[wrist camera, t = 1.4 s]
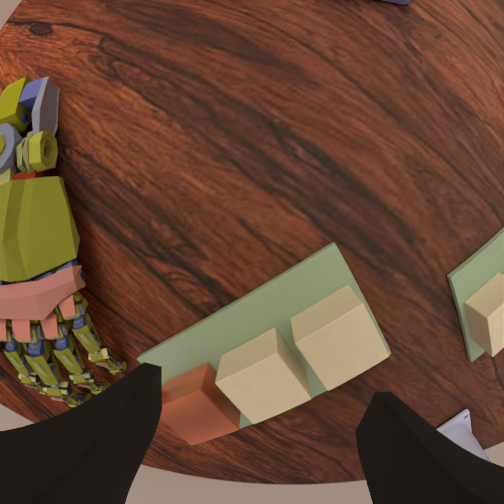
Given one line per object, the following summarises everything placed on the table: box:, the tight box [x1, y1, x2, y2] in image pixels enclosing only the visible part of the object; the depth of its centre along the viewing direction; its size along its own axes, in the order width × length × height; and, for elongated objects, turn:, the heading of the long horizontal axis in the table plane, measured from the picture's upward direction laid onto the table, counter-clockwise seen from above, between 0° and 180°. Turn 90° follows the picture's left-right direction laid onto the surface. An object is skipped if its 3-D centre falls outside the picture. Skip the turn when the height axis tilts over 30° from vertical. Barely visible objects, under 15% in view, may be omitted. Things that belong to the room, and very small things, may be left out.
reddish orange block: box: [160, 362, 241, 445], centre depth 17 cm, size 4×4×3 cm
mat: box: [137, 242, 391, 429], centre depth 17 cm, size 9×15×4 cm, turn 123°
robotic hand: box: [0, 76, 127, 407], centre depth 16 cm, size 12×7×25 cm
